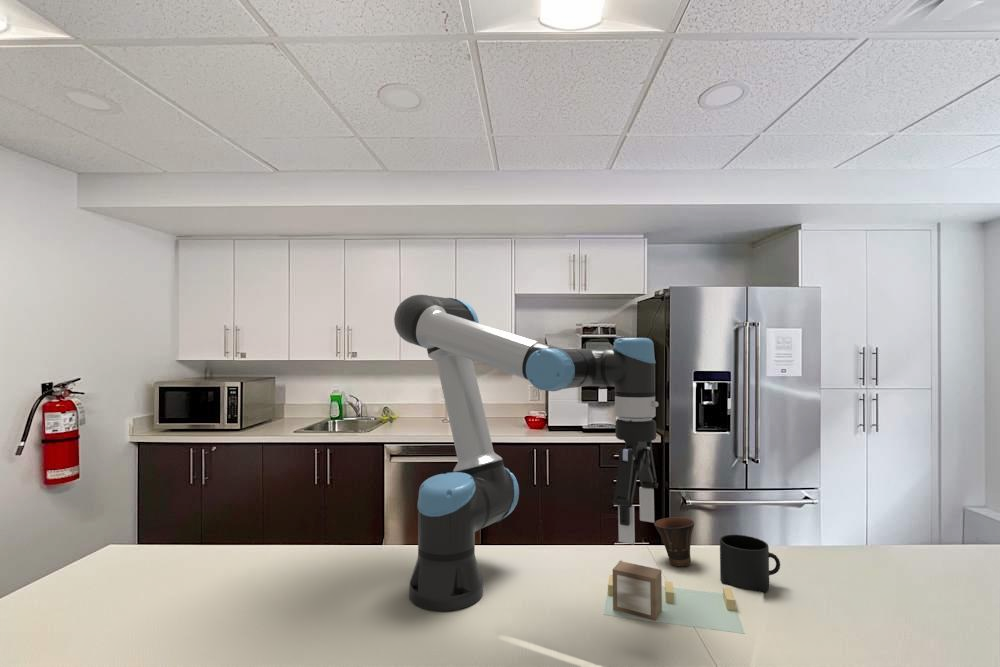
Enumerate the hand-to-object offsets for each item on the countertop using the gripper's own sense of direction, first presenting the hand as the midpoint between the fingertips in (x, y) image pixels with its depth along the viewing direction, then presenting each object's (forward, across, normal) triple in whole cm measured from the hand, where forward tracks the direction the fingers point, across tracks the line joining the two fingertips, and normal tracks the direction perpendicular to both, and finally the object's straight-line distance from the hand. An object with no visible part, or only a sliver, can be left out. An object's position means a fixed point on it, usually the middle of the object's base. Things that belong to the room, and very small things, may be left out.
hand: (637, 531), depth 98 cm
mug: (+16, +25, -17) cm, 34 cm away
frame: (+15, 0, 0) cm, 15 cm away
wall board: (+16, +5, -4) cm, 17 cm away
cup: (+16, +29, 0) cm, 33 cm away
